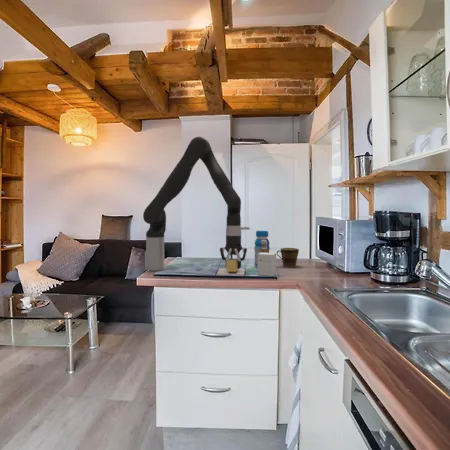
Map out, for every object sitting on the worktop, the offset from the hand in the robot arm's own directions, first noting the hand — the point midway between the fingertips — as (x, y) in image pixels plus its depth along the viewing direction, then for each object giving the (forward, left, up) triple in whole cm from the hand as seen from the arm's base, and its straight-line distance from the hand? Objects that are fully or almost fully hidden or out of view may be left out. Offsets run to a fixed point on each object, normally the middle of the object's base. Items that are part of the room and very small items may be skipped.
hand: (233, 268), depth 150 cm
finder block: (0, 0, -1) cm, 1 cm away
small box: (+17, -2, -3) cm, 17 cm away
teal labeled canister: (+15, +18, -3) cm, 23 cm away
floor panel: (-1, 0, -2) cm, 3 cm away
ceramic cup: (+29, +20, -3) cm, 35 cm away
